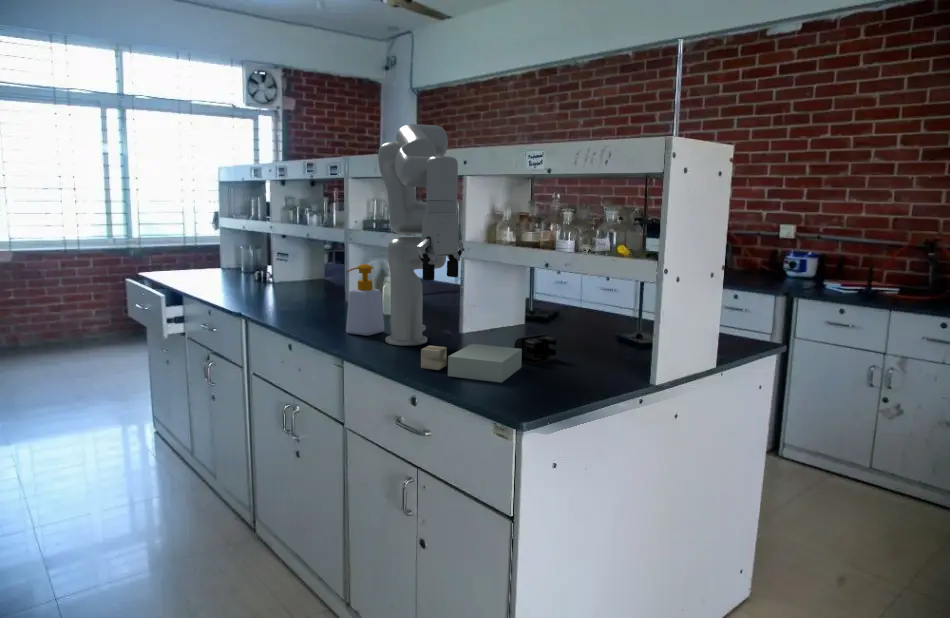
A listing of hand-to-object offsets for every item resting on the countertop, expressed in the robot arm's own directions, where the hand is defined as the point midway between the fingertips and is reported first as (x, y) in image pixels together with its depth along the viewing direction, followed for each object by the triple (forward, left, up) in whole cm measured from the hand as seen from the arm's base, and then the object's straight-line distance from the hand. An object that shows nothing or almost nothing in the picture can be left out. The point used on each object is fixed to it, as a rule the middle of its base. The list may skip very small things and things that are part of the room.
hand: (440, 278), depth 165 cm
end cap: (-23, +19, -24) cm, 38 cm away
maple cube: (-4, -3, -24) cm, 24 cm away
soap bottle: (-32, -41, -24) cm, 58 cm away
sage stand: (-5, +11, -24) cm, 26 cm away
